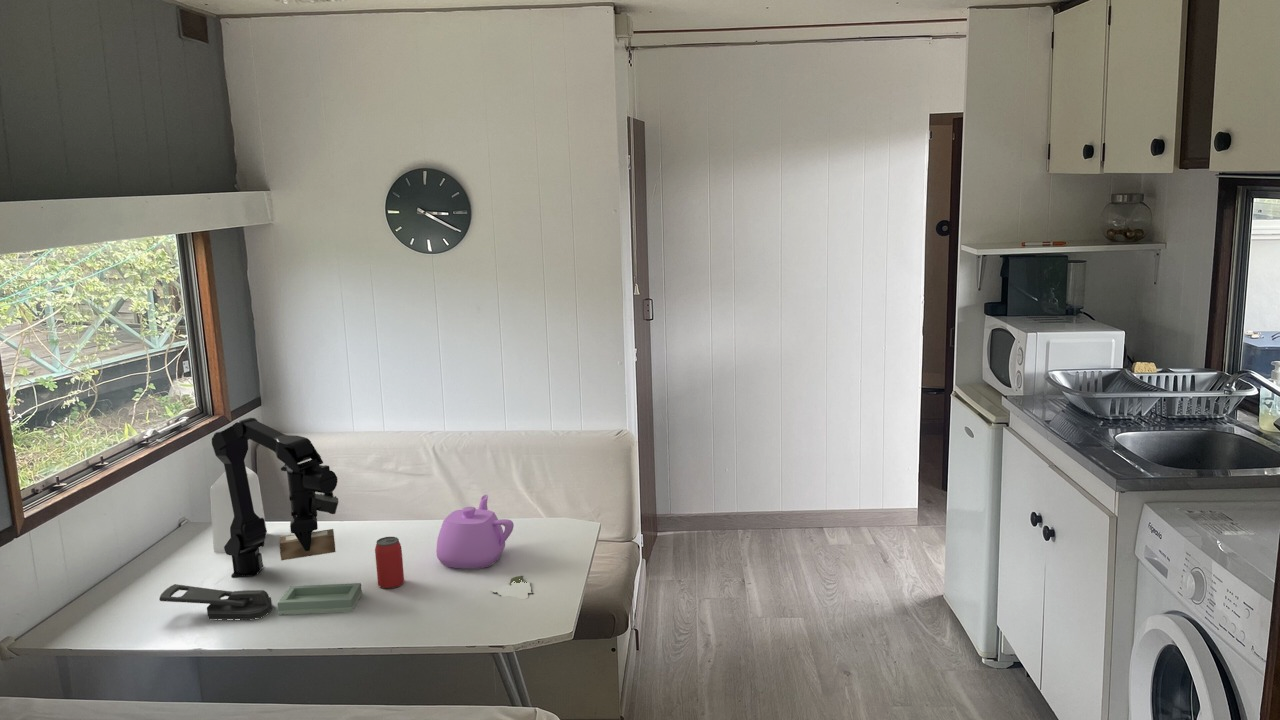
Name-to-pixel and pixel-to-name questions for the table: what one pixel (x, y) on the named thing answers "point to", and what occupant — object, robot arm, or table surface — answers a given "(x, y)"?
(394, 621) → the table surface
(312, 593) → the cradle
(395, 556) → the beer can
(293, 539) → the brown two-tone block
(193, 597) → the zipper pull
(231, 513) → the milk
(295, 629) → the table surface
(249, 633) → the table surface
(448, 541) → the teapot
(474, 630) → the table surface
